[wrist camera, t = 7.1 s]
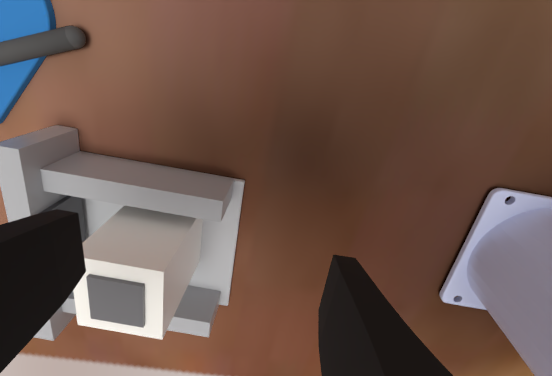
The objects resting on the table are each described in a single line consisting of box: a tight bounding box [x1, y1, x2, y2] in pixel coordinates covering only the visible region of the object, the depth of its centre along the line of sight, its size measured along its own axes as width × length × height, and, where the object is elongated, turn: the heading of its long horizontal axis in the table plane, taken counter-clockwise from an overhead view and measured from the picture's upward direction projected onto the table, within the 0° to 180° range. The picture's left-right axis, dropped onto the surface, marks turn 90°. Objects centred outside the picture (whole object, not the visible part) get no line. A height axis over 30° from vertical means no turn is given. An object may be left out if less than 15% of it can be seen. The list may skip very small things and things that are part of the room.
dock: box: [0, 125, 245, 341], centre depth 18 cm, size 11×12×4 cm
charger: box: [73, 206, 203, 339], centre depth 16 cm, size 4×4×6 cm
